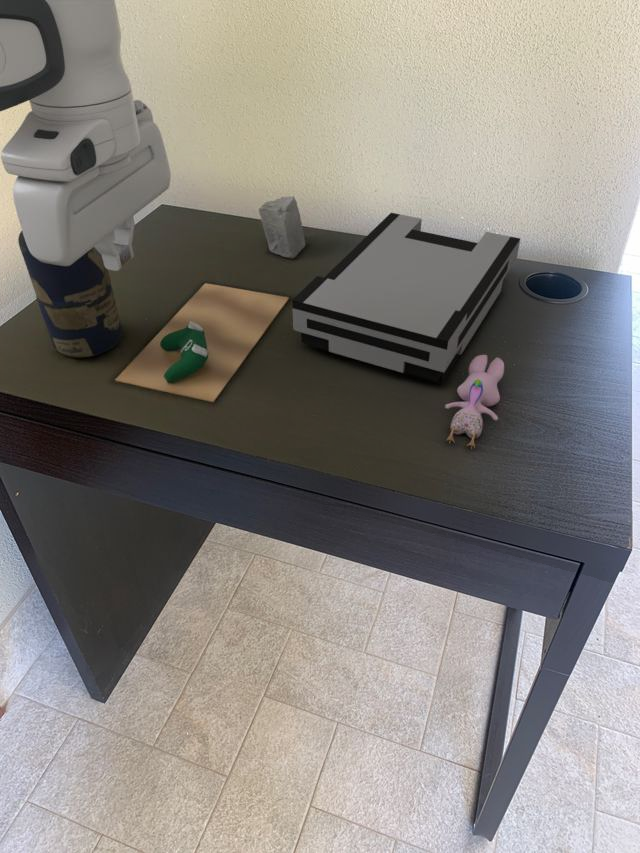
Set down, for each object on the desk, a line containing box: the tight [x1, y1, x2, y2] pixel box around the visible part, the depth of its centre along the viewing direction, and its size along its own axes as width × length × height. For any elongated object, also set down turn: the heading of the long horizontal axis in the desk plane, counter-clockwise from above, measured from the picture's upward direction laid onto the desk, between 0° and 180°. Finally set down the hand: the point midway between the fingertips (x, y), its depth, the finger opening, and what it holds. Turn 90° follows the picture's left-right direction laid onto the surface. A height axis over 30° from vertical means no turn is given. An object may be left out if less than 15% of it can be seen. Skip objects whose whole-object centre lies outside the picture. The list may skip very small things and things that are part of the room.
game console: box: [291, 212, 521, 385], centre depth 96 cm, size 21×32×8 cm, turn 152°
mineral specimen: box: [258, 195, 306, 260], centre depth 112 cm, size 7×9×8 cm
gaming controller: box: [160, 321, 208, 383], centre depth 89 cm, size 9×4×6 cm
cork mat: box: [114, 282, 290, 403], centre depth 95 cm, size 26×14×1 cm, turn 161°
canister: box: [17, 230, 123, 358], centre depth 88 cm, size 10×10×18 cm
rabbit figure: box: [444, 354, 505, 450], centre depth 81 cm, size 6×6×15 cm
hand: (120, 264), depth 71 cm, fingers closed
